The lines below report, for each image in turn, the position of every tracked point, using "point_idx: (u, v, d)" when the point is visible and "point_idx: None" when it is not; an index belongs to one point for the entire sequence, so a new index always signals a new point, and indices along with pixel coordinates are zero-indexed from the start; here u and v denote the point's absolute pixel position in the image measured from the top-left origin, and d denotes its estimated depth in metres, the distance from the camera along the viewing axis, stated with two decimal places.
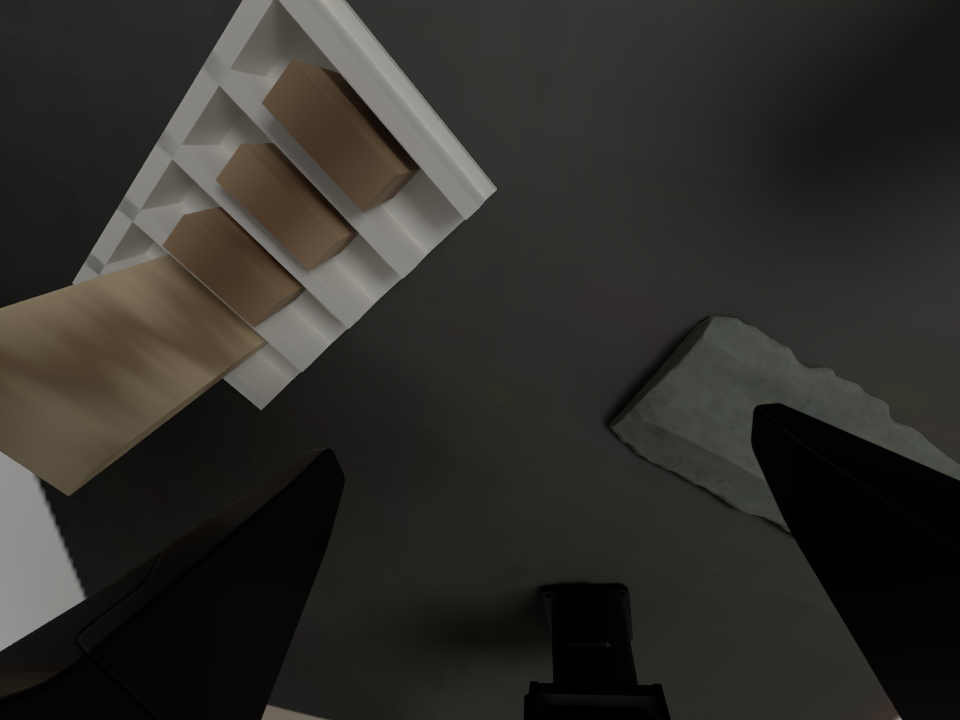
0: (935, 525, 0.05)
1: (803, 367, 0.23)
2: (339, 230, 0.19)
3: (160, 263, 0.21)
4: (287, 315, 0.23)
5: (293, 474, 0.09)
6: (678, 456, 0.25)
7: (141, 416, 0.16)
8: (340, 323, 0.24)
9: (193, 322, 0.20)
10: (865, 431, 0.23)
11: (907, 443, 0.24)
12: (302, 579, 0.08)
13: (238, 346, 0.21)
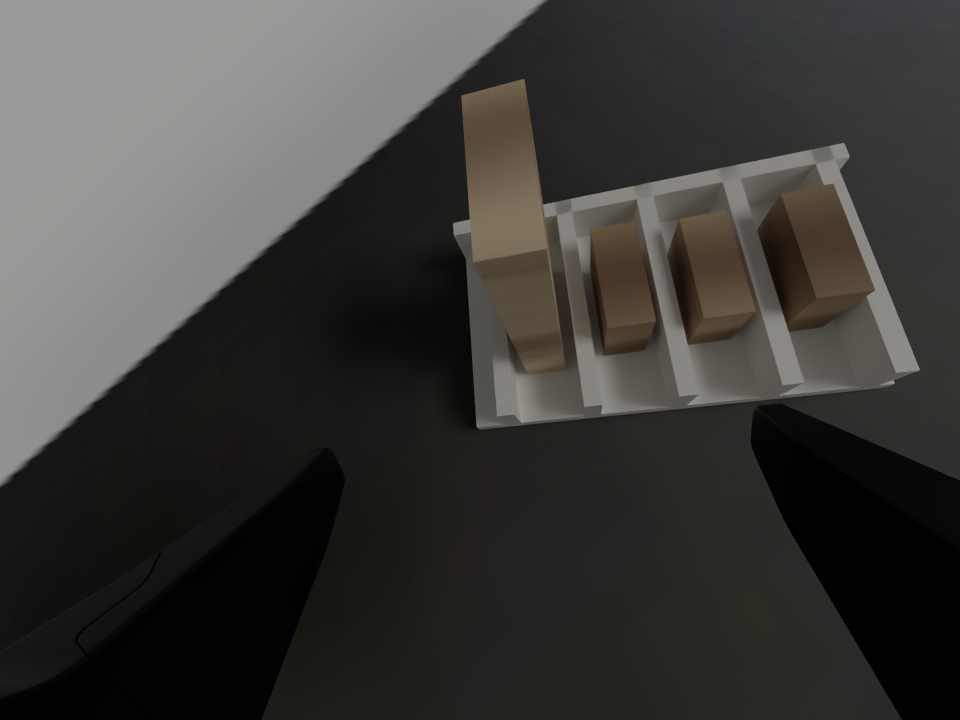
0: (935, 525, 0.05)
1: None
2: None
3: None
4: None
5: (293, 474, 0.09)
6: None
7: (551, 277, 0.14)
8: (629, 402, 0.21)
9: None
10: None
11: None
12: (302, 579, 0.08)
13: (561, 338, 0.19)
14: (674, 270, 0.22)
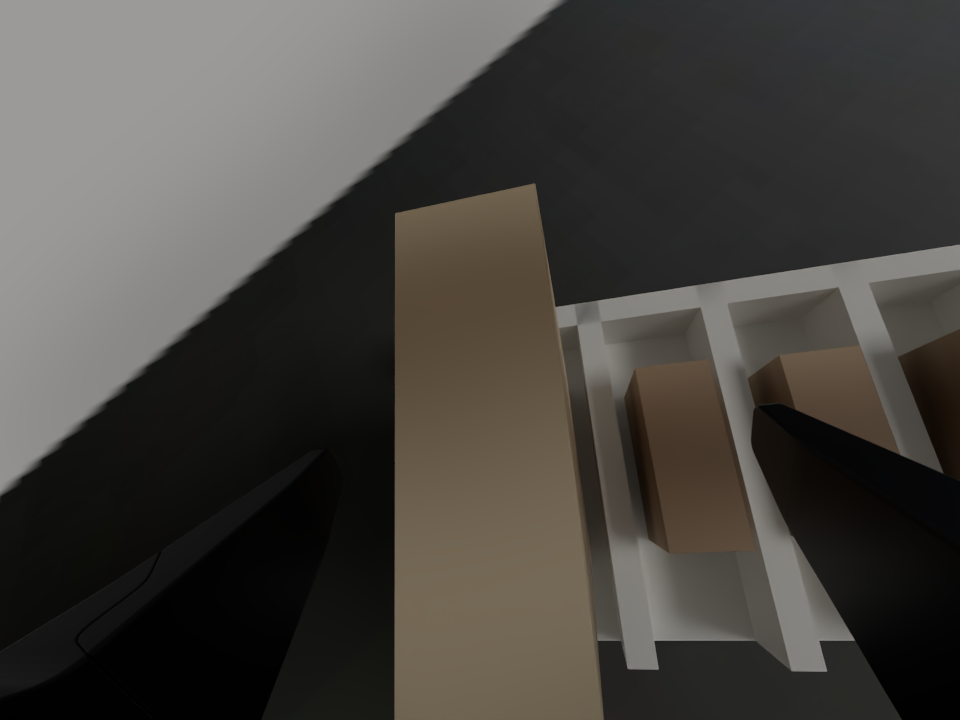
0: (935, 525, 0.05)
1: None
2: None
3: None
4: None
5: (293, 474, 0.09)
6: None
7: (593, 607, 0.06)
8: (691, 624, 0.14)
9: None
10: None
11: None
12: (302, 579, 0.08)
13: None
14: None
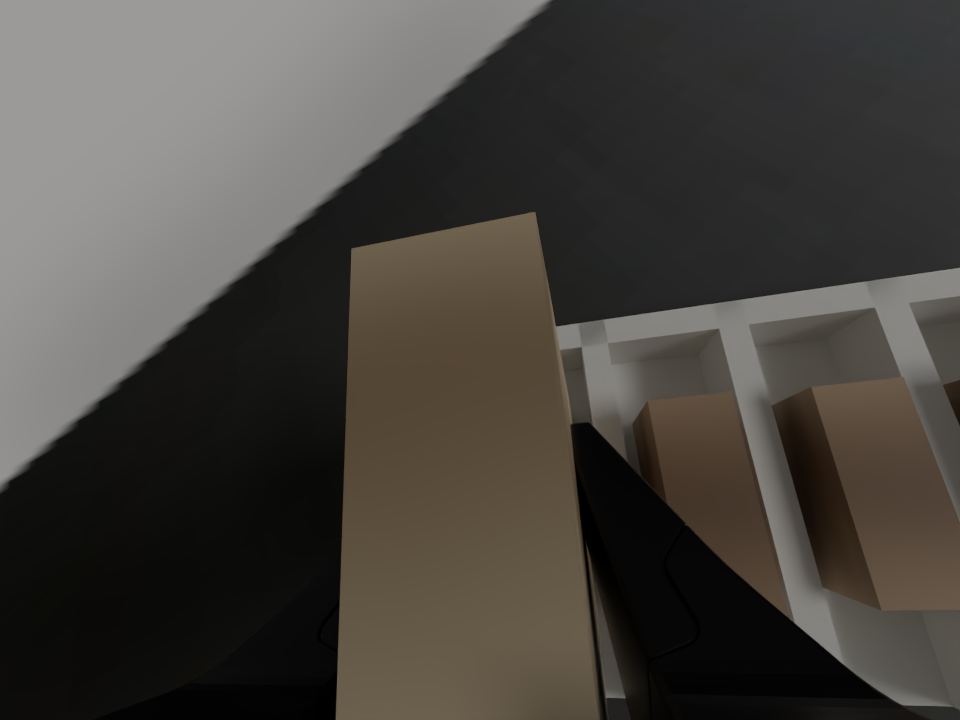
0: (610, 540, 0.05)
1: None
2: None
3: (570, 410, 0.13)
4: None
5: None
6: None
7: None
8: None
9: None
10: None
11: None
12: None
13: None
14: None
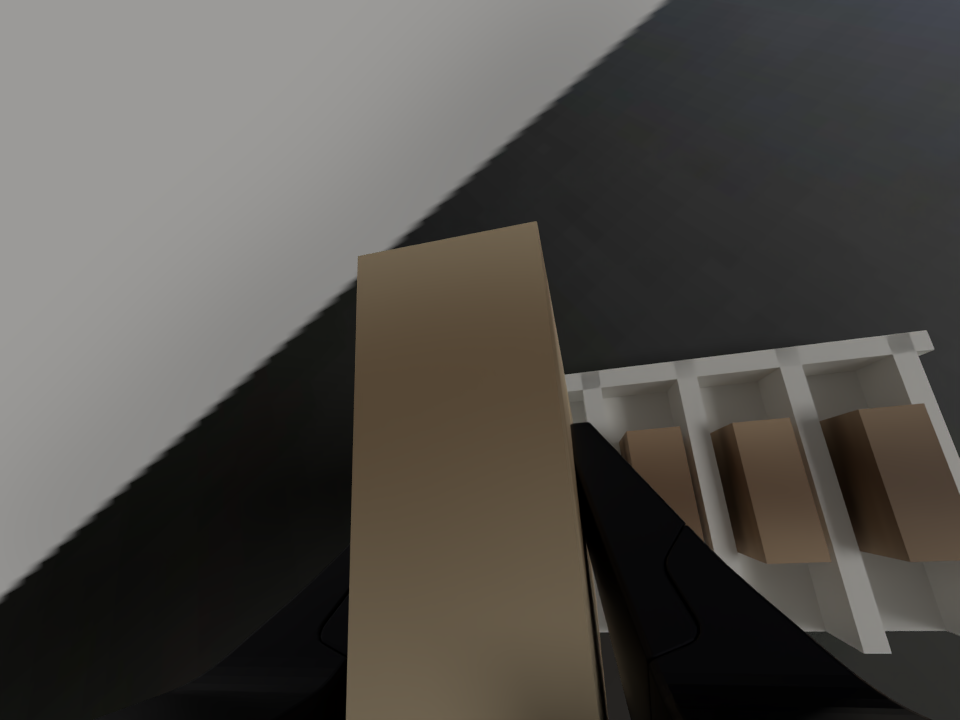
0: (610, 540, 0.05)
1: None
2: None
3: (570, 410, 0.13)
4: None
5: None
6: None
7: None
8: None
9: None
10: None
11: None
12: None
13: (596, 610, 0.11)
14: (720, 461, 0.19)
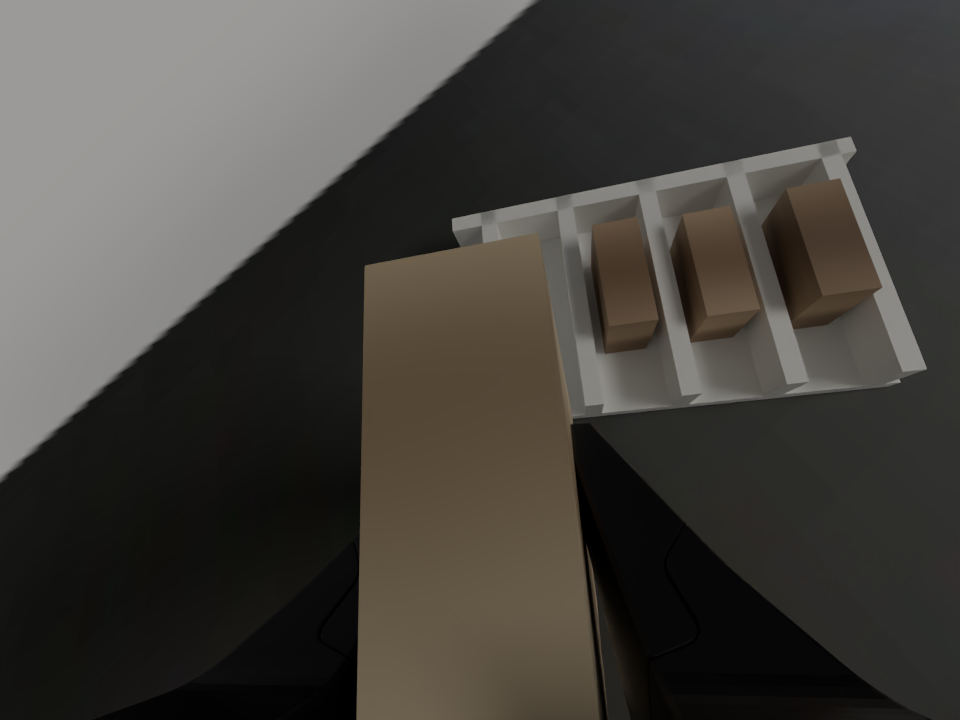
0: (610, 540, 0.05)
1: None
2: None
3: (570, 410, 0.13)
4: None
5: None
6: None
7: None
8: (631, 400, 0.21)
9: None
10: None
11: None
12: None
13: (596, 608, 0.11)
14: (677, 267, 0.21)
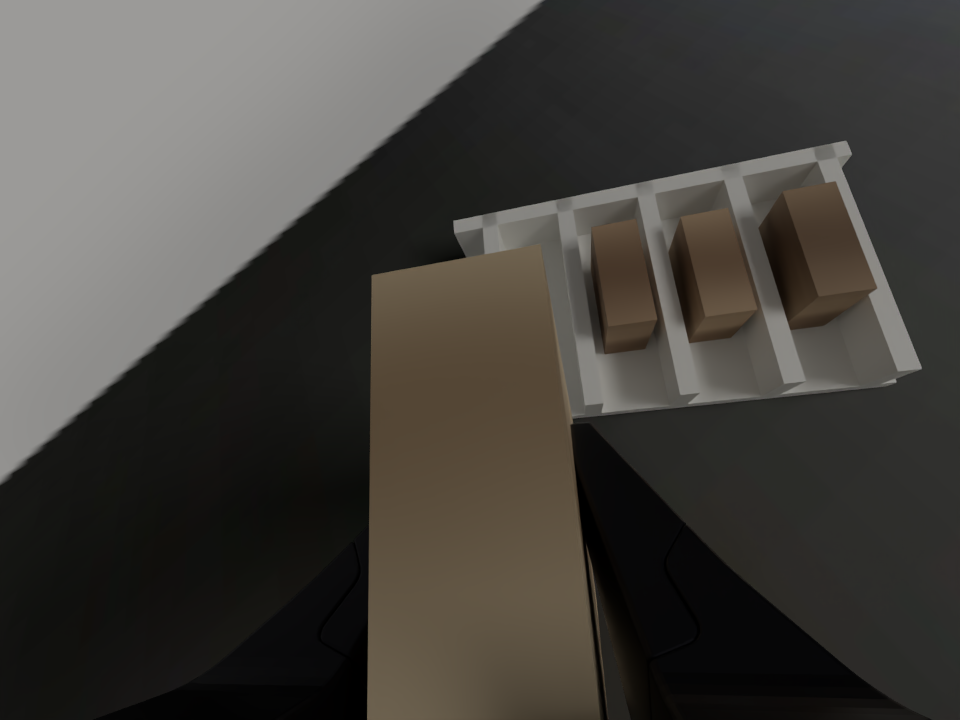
0: (610, 540, 0.05)
1: None
2: None
3: (570, 411, 0.13)
4: None
5: None
6: None
7: None
8: (630, 400, 0.21)
9: None
10: None
11: None
12: None
13: None
14: (675, 268, 0.22)
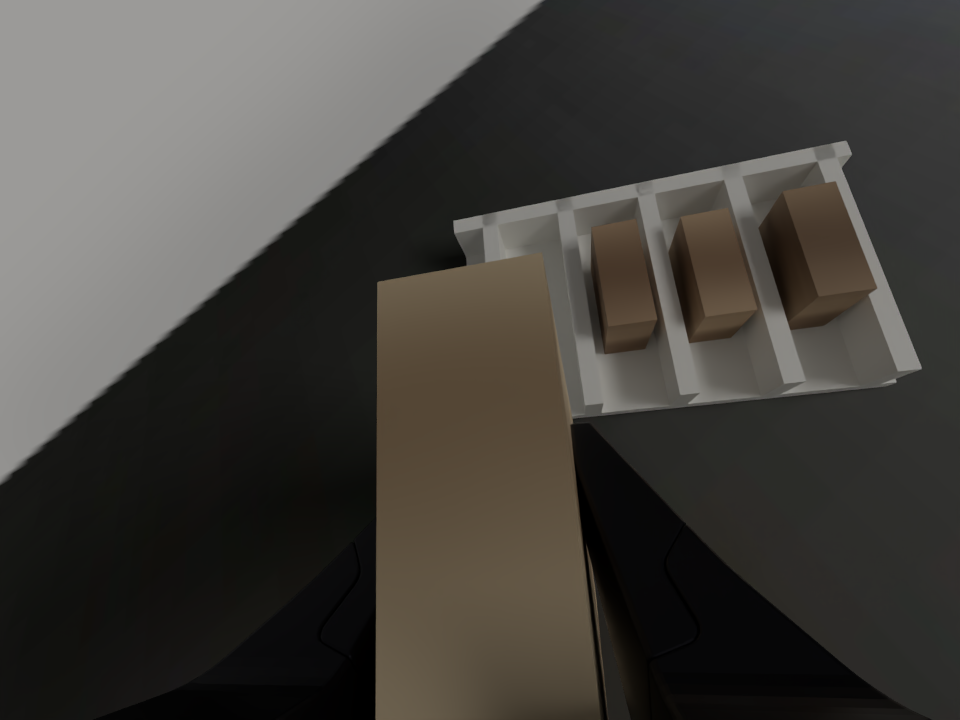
0: (610, 540, 0.05)
1: None
2: None
3: None
4: None
5: None
6: None
7: None
8: (630, 400, 0.21)
9: None
10: None
11: None
12: None
13: None
14: (675, 268, 0.22)
